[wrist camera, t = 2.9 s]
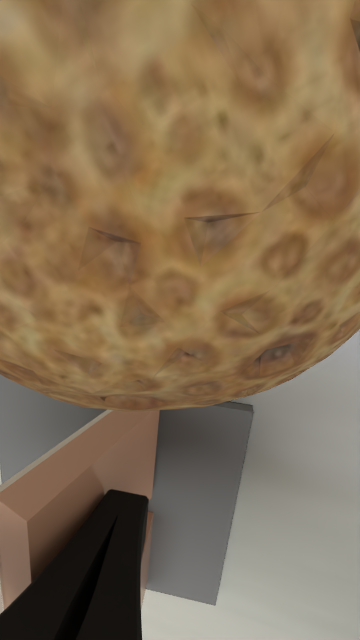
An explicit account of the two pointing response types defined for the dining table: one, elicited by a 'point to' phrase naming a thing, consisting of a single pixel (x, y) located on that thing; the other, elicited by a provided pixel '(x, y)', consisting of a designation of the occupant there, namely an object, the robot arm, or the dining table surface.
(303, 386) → the dining table surface
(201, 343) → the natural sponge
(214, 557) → the mat
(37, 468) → the tile
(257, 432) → the dining table surface
